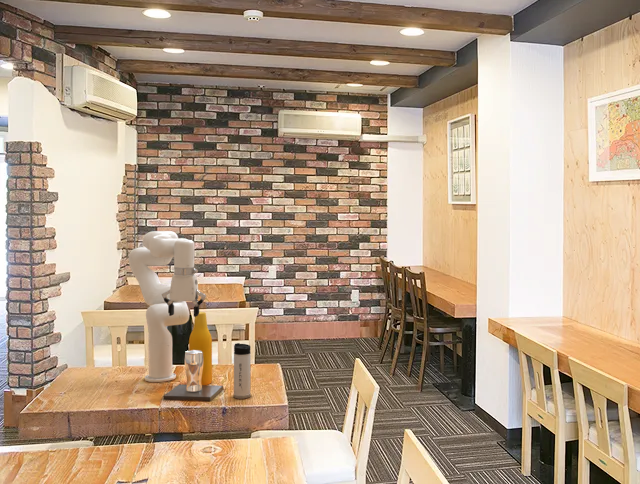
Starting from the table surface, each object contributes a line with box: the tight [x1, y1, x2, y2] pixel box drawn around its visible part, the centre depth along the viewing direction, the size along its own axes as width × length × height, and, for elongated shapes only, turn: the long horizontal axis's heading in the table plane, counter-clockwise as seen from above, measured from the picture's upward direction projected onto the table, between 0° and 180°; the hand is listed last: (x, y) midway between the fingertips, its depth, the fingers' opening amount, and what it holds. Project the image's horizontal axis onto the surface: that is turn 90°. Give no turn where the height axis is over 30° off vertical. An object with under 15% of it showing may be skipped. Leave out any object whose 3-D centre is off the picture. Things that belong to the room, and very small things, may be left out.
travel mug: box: [233, 342, 252, 400], centre depth 243 cm, size 6×7×20 cm
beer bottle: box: [188, 311, 213, 385], centre depth 261 cm, size 9×9×29 cm
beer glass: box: [184, 350, 203, 393], centre depth 245 cm, size 7×7×15 cm
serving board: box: [162, 383, 224, 402], centre depth 246 cm, size 16×18×2 cm
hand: (183, 315), depth 248 cm, fingers open, 9 cm apart
